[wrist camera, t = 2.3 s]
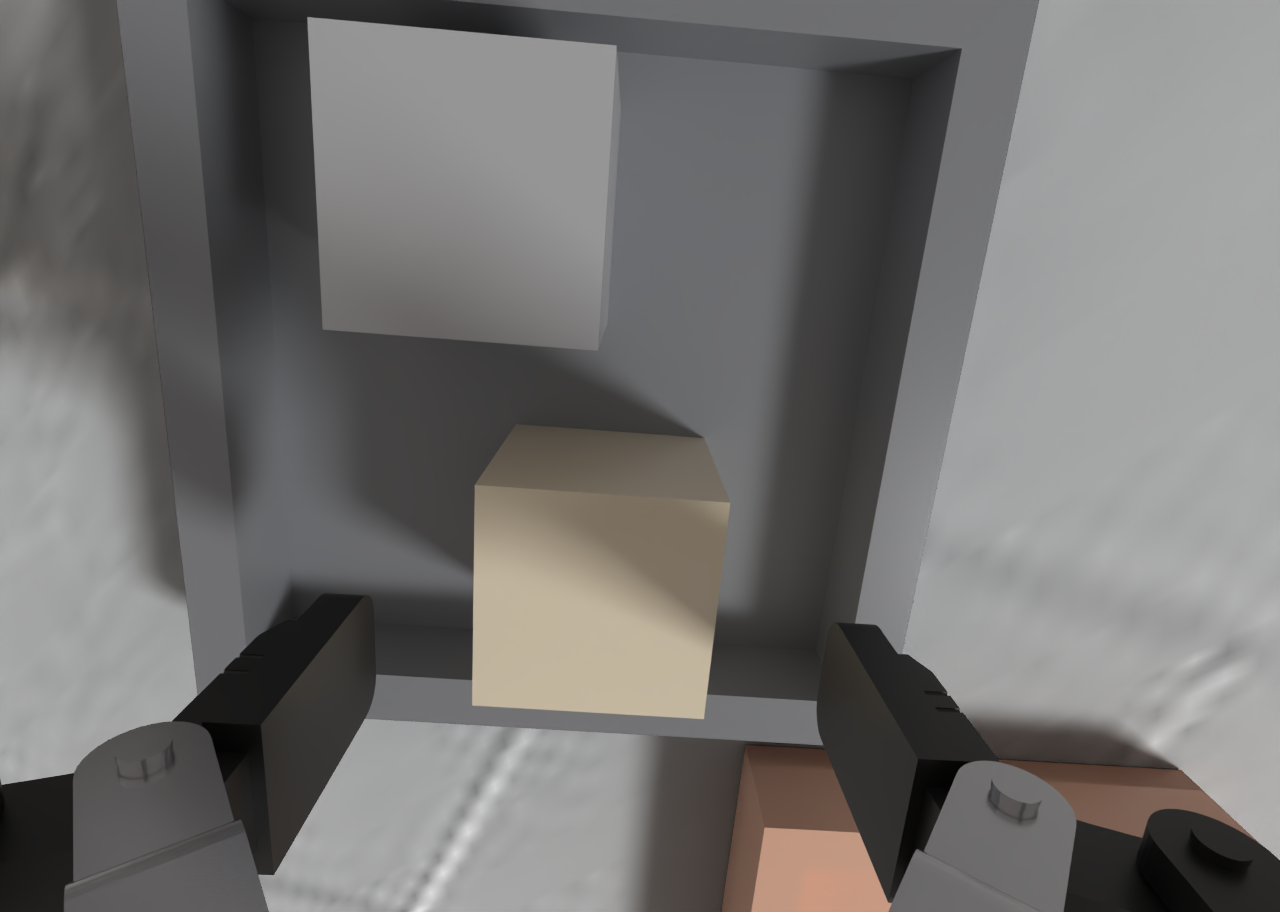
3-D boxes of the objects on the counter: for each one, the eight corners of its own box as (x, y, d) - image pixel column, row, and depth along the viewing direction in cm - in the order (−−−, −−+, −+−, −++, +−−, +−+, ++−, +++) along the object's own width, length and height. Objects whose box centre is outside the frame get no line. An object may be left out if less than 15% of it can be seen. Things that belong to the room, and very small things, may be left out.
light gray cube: (404, 89, 14) (307, 17, 10) (620, 108, 14) (616, 45, 10) (408, 309, 16) (322, 329, 11) (606, 324, 16) (597, 350, 11)
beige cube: (515, 424, 16) (474, 485, 12) (704, 437, 16) (730, 502, 12) (511, 595, 18) (472, 705, 13) (686, 606, 18) (703, 718, 13)
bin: (209, -41, 14) (103, -115, 11) (963, 31, 15) (1044, -23, 12) (265, 639, 19) (199, 709, 16) (844, 674, 19) (882, 748, 16)
